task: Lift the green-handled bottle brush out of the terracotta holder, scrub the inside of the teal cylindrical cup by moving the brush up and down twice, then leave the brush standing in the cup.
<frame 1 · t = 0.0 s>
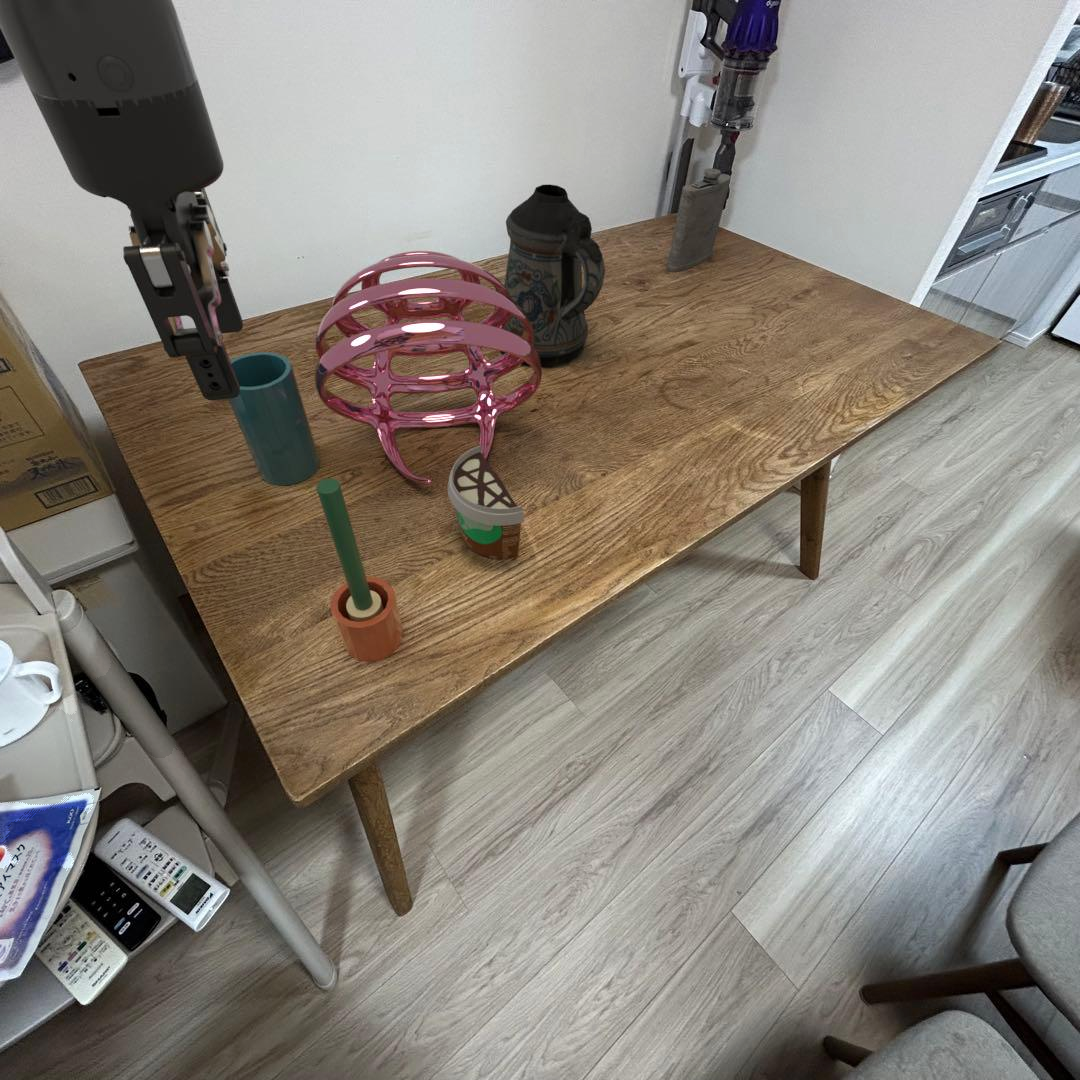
hand: (226, 361, 42), 32 cm above the table, tool pointing down, fingers open, 8 cm apart
food container: (478, 541, 75), on the table
spiral basket: (441, 443, 87), on the table
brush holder: (374, 639, 65), on the table
flask: (690, 263, 131), on the table
bottle brush: (373, 636, 64), point 1 cm above the table, touching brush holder
beer stein: (547, 346, 106), on the table
teal cylindrical cup: (289, 465, 82), on the table
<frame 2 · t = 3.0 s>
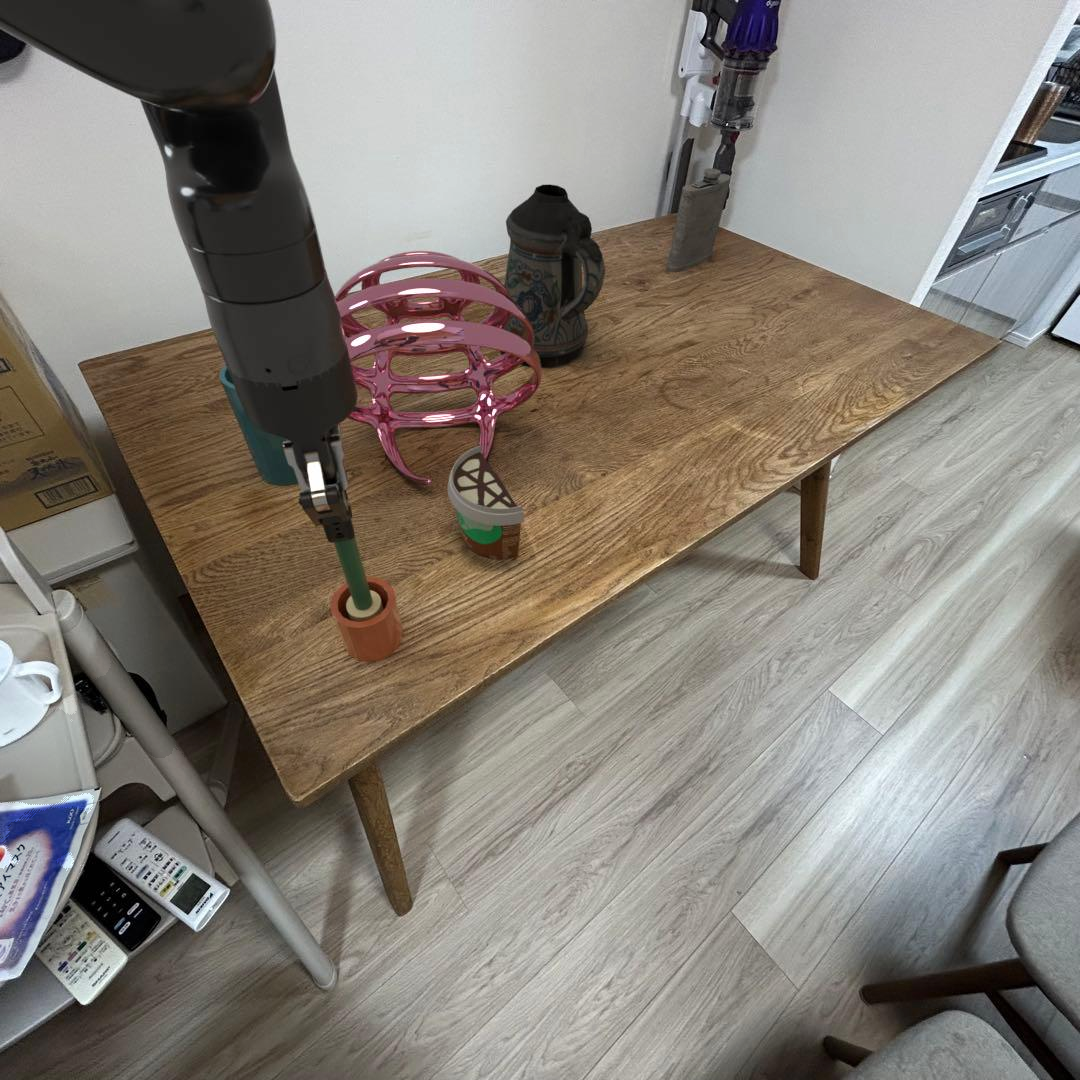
hand: (340, 528, 51), 18 cm above the table, tool pointing down, fingers closed on bottle brush, 2 cm apart
bottle brush: (373, 635, 64), point 1 cm above the table, touching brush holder, gripper
everything else where it was.
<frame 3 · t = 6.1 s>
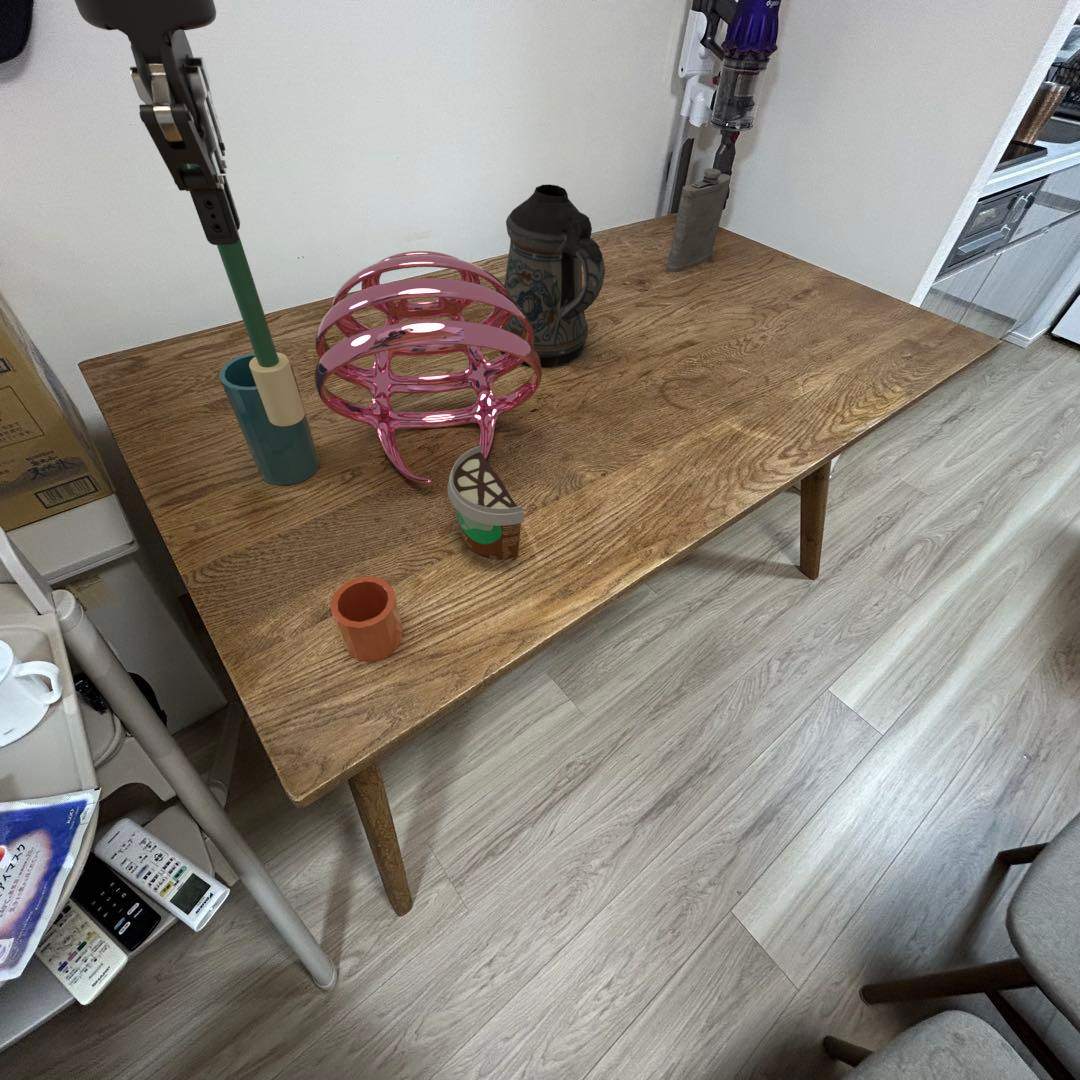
hand: (225, 235, 46), 36 cm above the table, tool pointing down, fingers closed on bottle brush
bottle brush: (286, 415, 59), point 19 cm above the table, touching gripper
everything else where it was.
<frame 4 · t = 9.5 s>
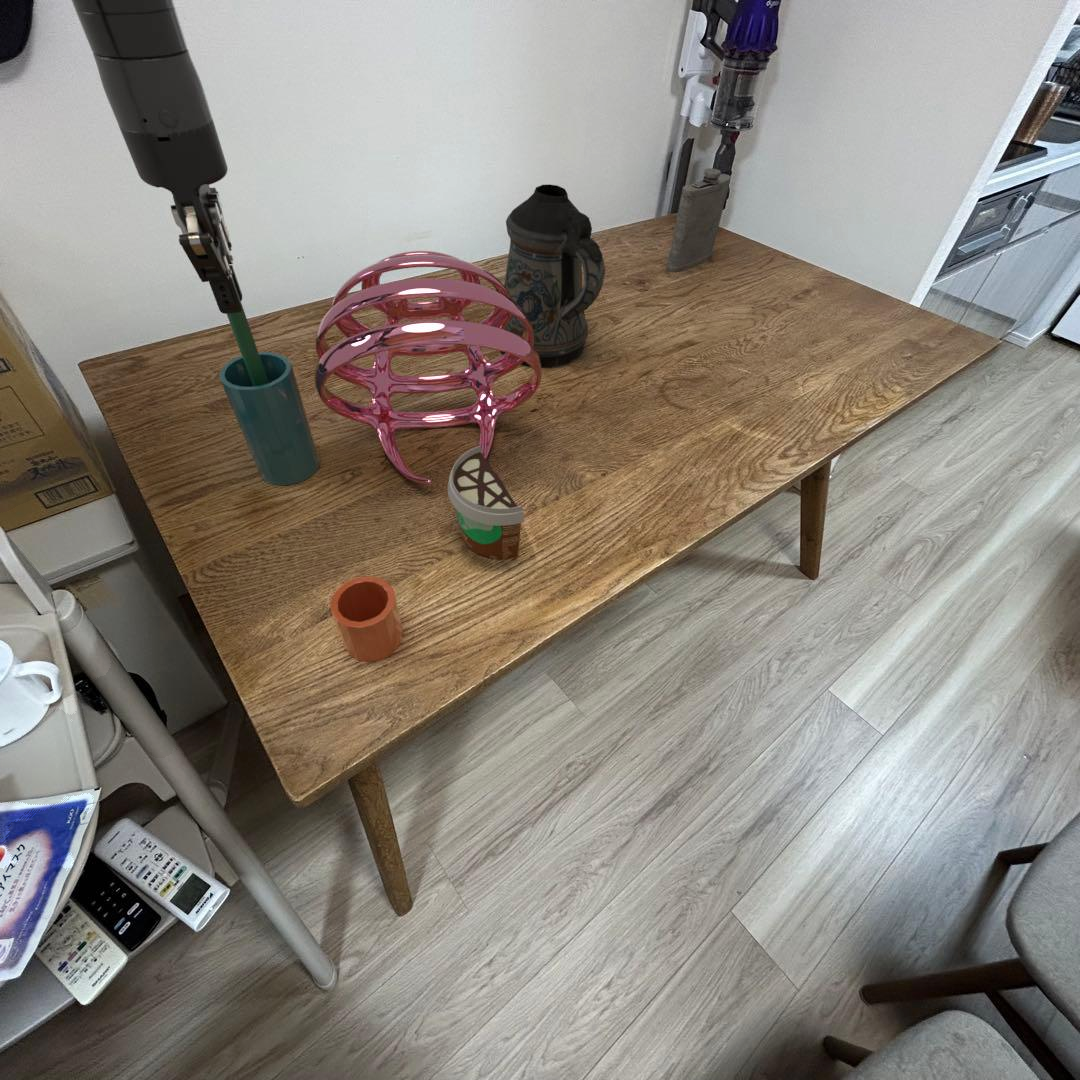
hand: (232, 305, 65), 23 cm above the table, tool pointing down, fingers closed on bottle brush
bottle brush: (277, 430, 78), point 6 cm above the table, touching gripper
everything else where it was.
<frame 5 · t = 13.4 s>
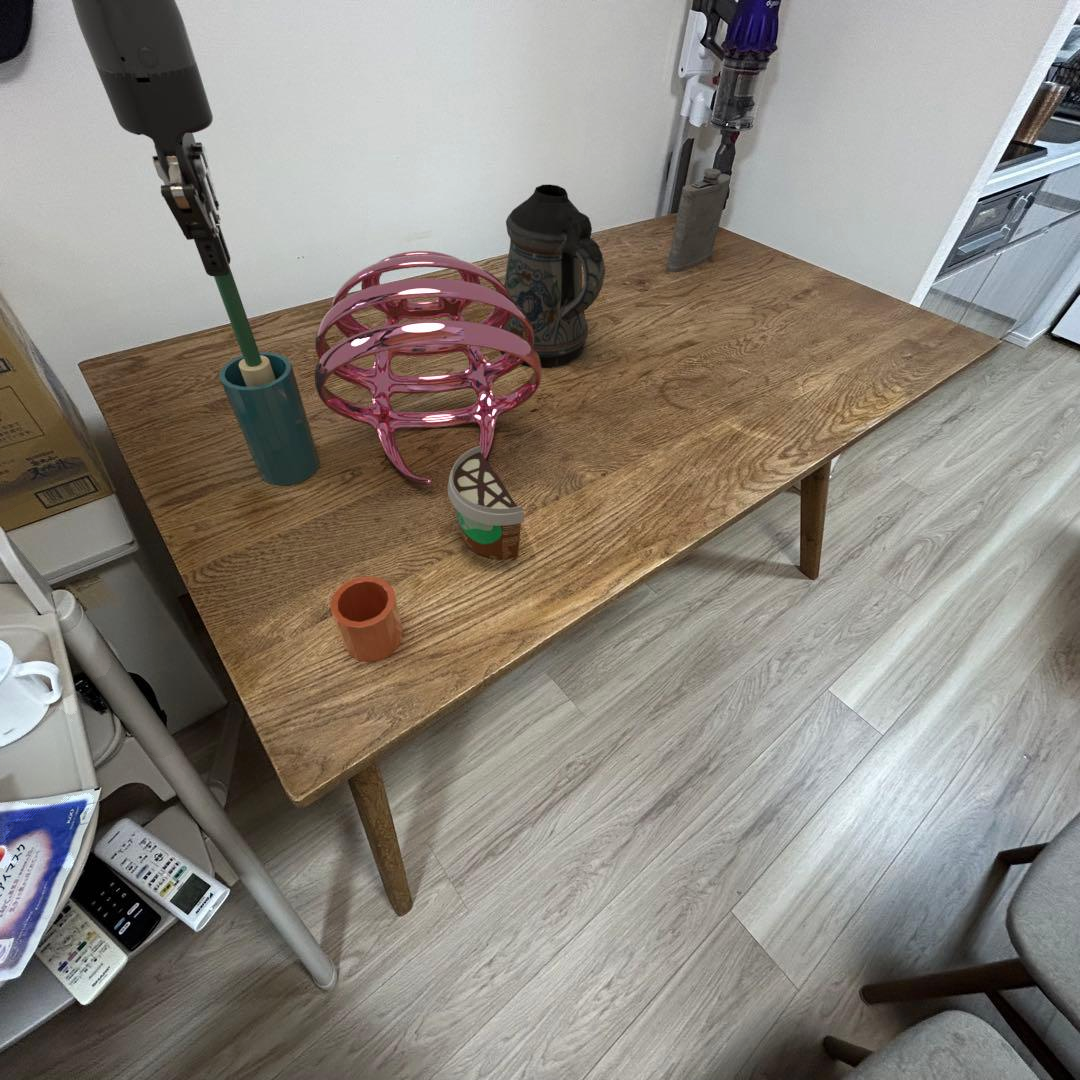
hand: (219, 268, 62), 27 cm above the table, tool pointing down, fingers closed on bottle brush
bottle brush: (269, 405, 75), point 10 cm above the table, touching gripper
everything else where it was.
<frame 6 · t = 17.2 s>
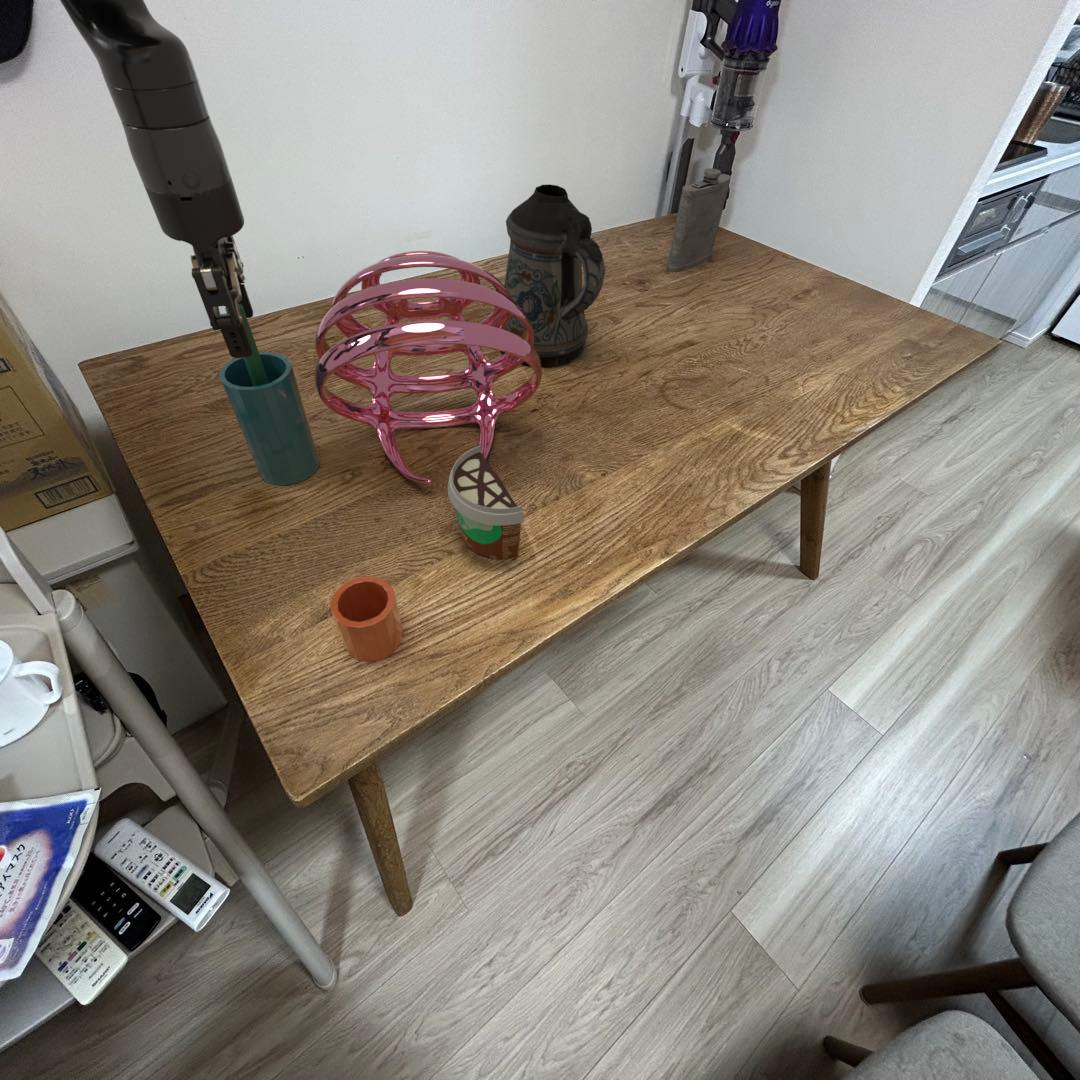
hand: (243, 335, 68), 19 cm above the table, tool pointing down, fingers open, 8 cm apart
bottle brush: (288, 461, 82), point 1 cm above the table, touching teal cylindrical cup
everything else where it was.
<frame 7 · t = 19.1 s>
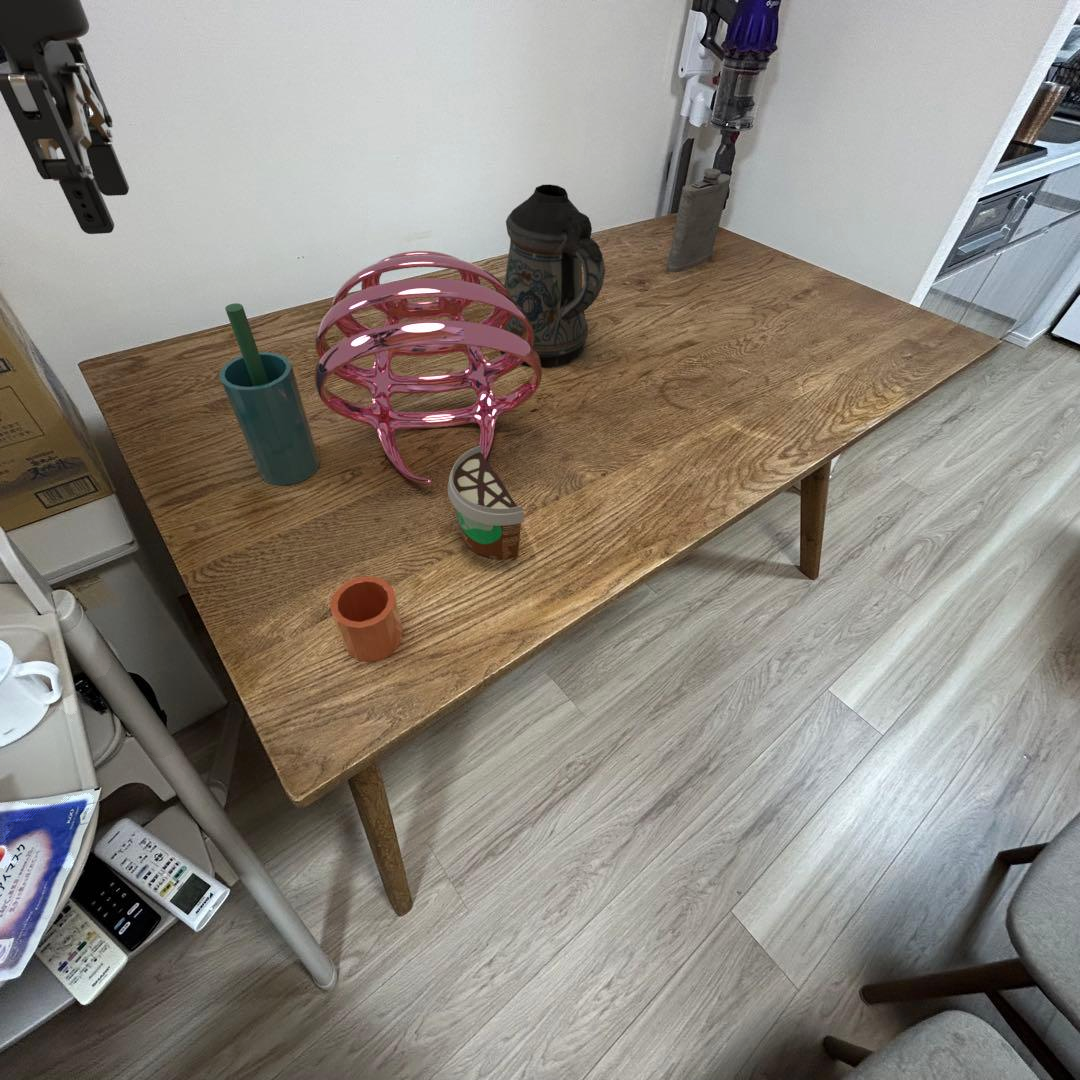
hand: (109, 212, 50), 35 cm above the table, tool pointing down, fingers open, 8 cm apart
nothing on the table moved.
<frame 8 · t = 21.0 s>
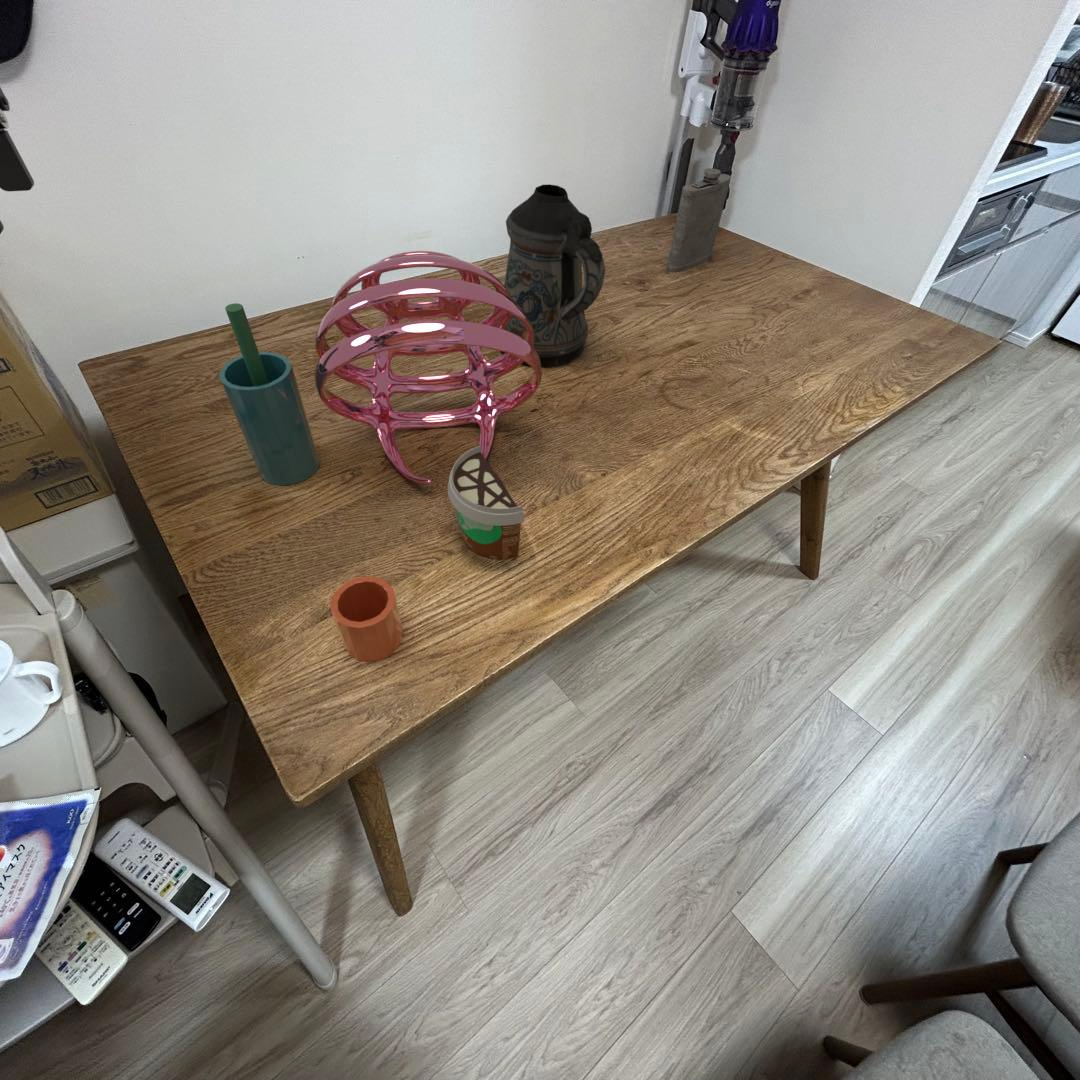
hand: (4, 211, 43), 38 cm above the table, tool pointing down, fingers open, 8 cm apart
nothing on the table moved.
at the end: bottle brush 0.1 cm off-centre in the teal cylindrical cup, point 0.8 cm above the teal cylindrical cup's base; bottle brush tilted 0°; the gripper is holding nothing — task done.
